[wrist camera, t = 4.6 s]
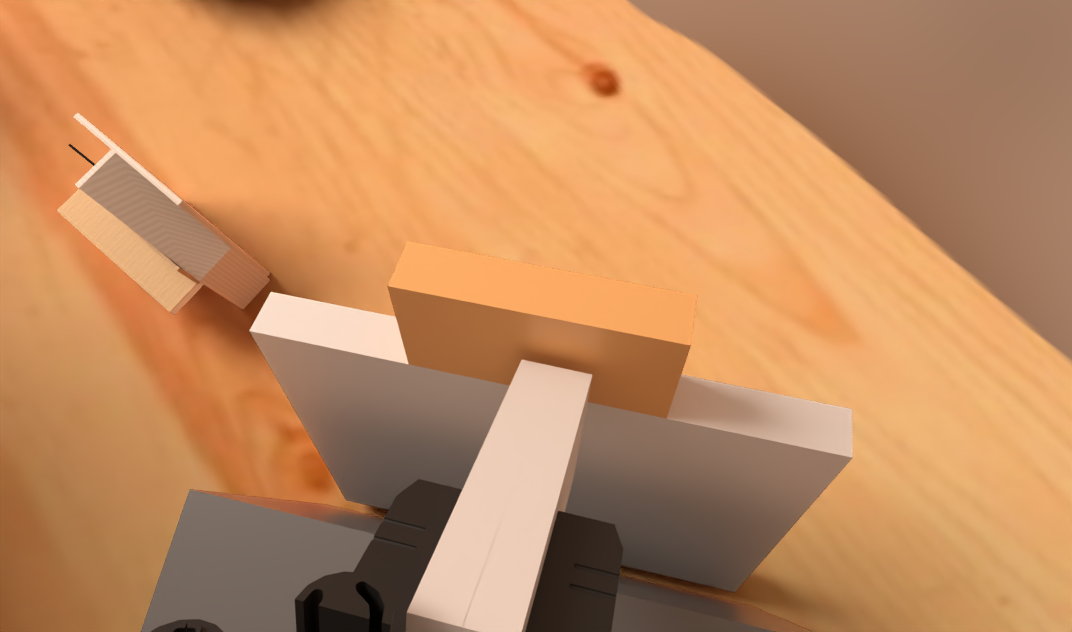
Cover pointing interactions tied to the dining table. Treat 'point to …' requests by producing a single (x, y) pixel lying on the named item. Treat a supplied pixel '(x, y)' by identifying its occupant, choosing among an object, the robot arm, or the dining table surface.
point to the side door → (611, 414)
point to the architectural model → (157, 233)
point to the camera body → (338, 545)
